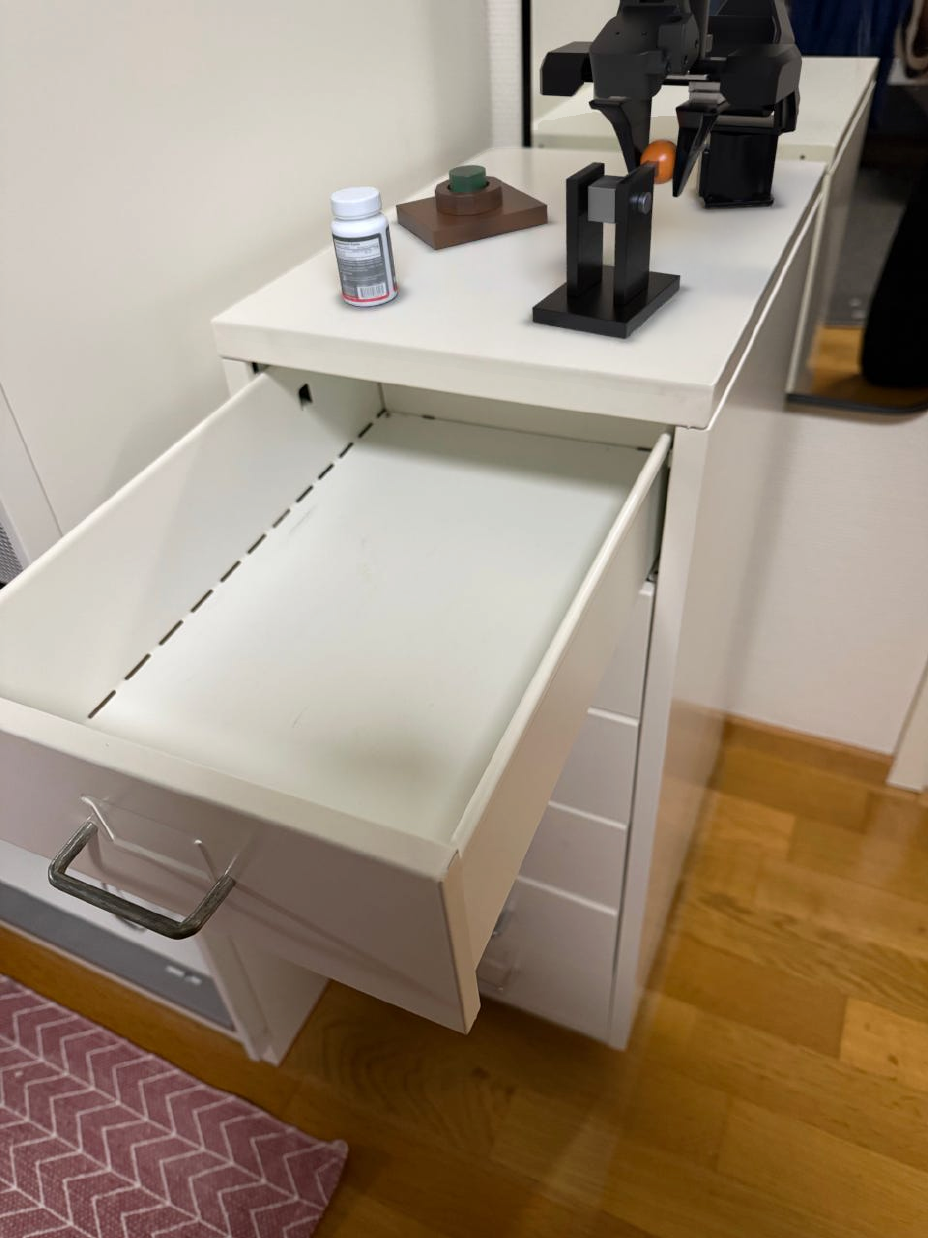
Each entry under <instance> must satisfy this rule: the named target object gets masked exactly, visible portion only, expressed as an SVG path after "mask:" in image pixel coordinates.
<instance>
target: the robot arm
mask: <svg viewBox="0 0 928 1238" xmlns="http://www.w3.org/2000/svg"><path fill="white" fill-rule="evenodd" d="M618 4H619V5H618V7H617V11H616V14H615V15H614V16H613V17H612V18H610V19H609V20H608V21H607V22H606V23H605V25H604V26H603V27H602V29H600V31H599V33H598V34H597V35H596V37H595V38H594V39H593V40H592V41H581V40H580V41H579V40H578V41H577V40H576V41H571V42H569V43H566V44H564V45H562V46H559V47H557V48H554V49H552V50H549V51H548V52H546V54H545V55H544V57H543V59H542V62H541V64H540V68H539V69H538V70H539V71H538V72H539V94H540V95H541V96H543V97H545V96H548V97H567V98H572V97H575V96H576V95H577V94H578V92H579V91H580V90H581V89H582V87H583V86H584V85H585V83H586V84H588V83H589V84H591V83H592V84H593V95H592V96H593V98H592V99H591V100H589V101H588V105H589V108H590V109H591V110H594V111H599V112H600V113H601V114H602V115H603V117H605V118H606V119H607V121H609V123H610V124H611V126H612V128H613V131H614V134H615V136H616V138H617V141H618V143H619V147H620V149H621V154H622V156H623V160H624V163H625V167H626V170H627V174H629V173H630V172H631V171H633V170H634V169H636V168H637V167H638V166H640V159H641V155H642V153H643V151H644V149H645V148H646V147H647V146H648V145H649V144H650V137H651V124H652V109H653V107H652V106H653V98H654V97H655V96H657V95H658V94H659V93H660V91H661V90H662V86H668V87H669V86H670V87H671V86H672V87H688V93H689V94H688V99H687V100H685V101H684V102H682V103H681V104H679V105H677V106H676V107H675V108H674V109H675V115H676V119H677V125H678V131H677V132H678V133H677V139H676V146H677V147H676V154H675V162H674V170H673V178H672V180H671V181H672V182H671V183H672V184H671V186H672V187H671V188H672V189H671V190H672V192H671V193H672V194H671V195H672V198H676V199H678V198H679V197H680V196H682V194H683V192H684V191H685V187H686V186H687V183H688V181H689V179H690V176H691V174H692V172H693V170H694V167H695V165H696V163H697V170H696V180H695V181H696V182H695V190H696V193H697V196H698V198H701V201H702V205H703V207H704V208H706V209H719V208H720V209H721V208H736V207H738V208H739V207H755V206H756V207H757V206H772V205H774V203H775V196H774V195H773V193H772V188H773V181H774V174H775V165H776V159H777V153H778V145H779V138H780V137H781V136H782V135H783V134H788V133H793V132H795V131H796V130H797V123H798V116H799V114H800V103H801V93H800V87H799V86H800V80H801V73H802V66H803V58H802V53H801V52H800V50H799V48H798V46H797V44H795V42H796V39H795V34H794V32H793V28H792V26H791V22H790V19H789V16H788V11H787V8H786V5H785V0H725V1H724V2H723V4H722V5H721V6H720V8H719V9H718V11H717V12H716V14H710V10H711V0H619V3H618Z"/></svg>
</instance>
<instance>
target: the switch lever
mask: <svg viewBox="0 0 928 1238" xmlns="http://www.w3.org/2000/svg"><path fill="white" fill-rule="evenodd" d="M676 147H677V144H676V143H674V142H673V141H671V140H670V139H665V138H660V139H656V140H654V141H652V142H649V145H648V146H647V147H646V148H645V149H644V151H643V153H642V155H641V159H640V166H638V167H637V168H636V169H634V170H633V171H631V172H630V173H629V174H628V173H627V174H626V175H625V176H622V175H611V174H605V175H604V176H603V177H602V178H600V179H599V180H597V181H596V182H594V183H593V184H591V185H590V186H589V187H588V221H594V222H603V223H604V224H613V225H615V215H616V184H617V183H618V182H620V181H621V180H623V179H624V178H626V177H627V176H629V175H630V174H632V173H633V172H635V171H636V170H638V169H639V168H641V167H642V166H648V167H655V176H654V185H664V184H667V183H669V182H670V181H672V178H673V170H674V162H675V154H676Z"/></svg>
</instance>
